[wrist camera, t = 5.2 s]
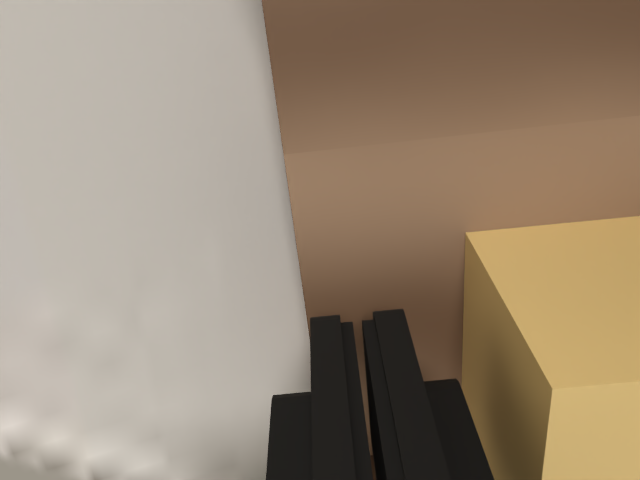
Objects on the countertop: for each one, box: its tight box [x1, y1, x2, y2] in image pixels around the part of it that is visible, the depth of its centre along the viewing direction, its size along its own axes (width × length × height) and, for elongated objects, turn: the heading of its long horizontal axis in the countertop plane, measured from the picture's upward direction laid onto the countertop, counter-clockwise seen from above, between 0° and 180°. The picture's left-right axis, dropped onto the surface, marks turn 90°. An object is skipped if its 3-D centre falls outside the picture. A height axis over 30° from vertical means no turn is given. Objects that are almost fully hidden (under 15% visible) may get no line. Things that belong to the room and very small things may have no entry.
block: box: [462, 216, 640, 480], centre depth 10 cm, size 4×4×4 cm
